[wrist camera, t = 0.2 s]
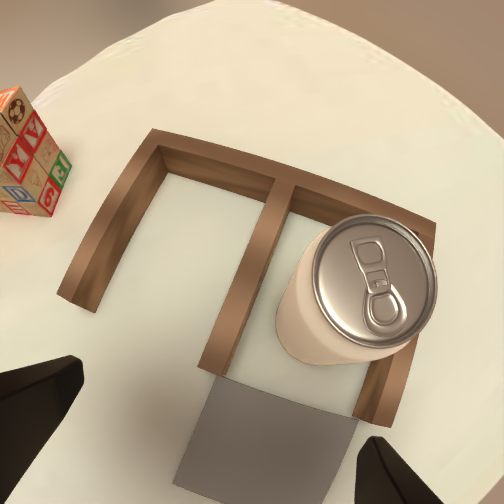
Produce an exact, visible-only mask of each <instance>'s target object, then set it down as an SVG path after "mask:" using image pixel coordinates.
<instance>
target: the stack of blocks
mask: <svg viewBox="0 0 504 504" xmlns="http://www.w3.org/2000/svg"><path fill="white" fill-rule="evenodd" d="M71 167H72V165H71V164H70V163H69V161H68V159H67V158H66V156H65V155H64V154H63V152H62V151H61V150H60V149H59V147H58V146H57V144H56V143H55V141H54V140H53V138H52V137H51V135H50V134H49V132H48V131H47V128H46V126H45V125H44V123H43V122H42V121H41V119H40V117H39V116H38V114H37V112H36V111H35V110H34V109H33V107H32V105H31V104H30V102H29V100H28V98H27V97H26V95H25V93H24V92H23V90H22V88H21V87H20V86H17V87H14V88H10V89H7V90H4V91H0V212H9V213H15V214H24V215H33V216H43V217H52V215H53V212H54V209H55V207H56V204H57V202H58V199H59V196H60V194H61V191H62V188H63V186H64V183H65V181H66V179H67V176H68V174H69V172H70V169H71Z"/></svg>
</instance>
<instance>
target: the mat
mask: <svg viewBox="0 0 504 504" xmlns="http://www.w3.org/2000/svg"><path fill="white" fill-rule="evenodd" d="M358 421H359V420H356V419H352V418H348V417H344V416H341V415H337V414H333V413H329V412H326V411H322V410H319V409H315V408H312V407H309V406H305V405H302V404H299V403H296V402H292V401H289V400H286V399H283V398H280V397H277V396H274V395H271V394H268V393H265V392H263V391H260V390H257V389H254V388H251V387H249V386H246V385H243V384H241V383H238V382H235V381H233V380H230V379H228V378H225V377H222V376H218V375H217V377H216V380H215V382H214V384H213V387H212V389H211V392H210V394H209V397H208V399H207V401H206V404H205V406H204V409H203V411H202V414H201V416H200V418H199V421H198V423H197V426H196V428H195V431H194V433H193V435H192V438H191V440H190V442H189V445H188V447H187V450H186V452H185V454H184V457H183V459H182V462H181V464H180V466H179V469H178V471H177V473H176V476H175V478H174V480H173V484H175V485H177V486H180V487H182V488H184V489H187V490H189V491H192V492H194V493H197V494H199V495H202V496H205V497H208V498H210V499H213V500H216V501H219V502H222V503H225V504H322V502H323V500H324V498H325V496H326V494H327V492H328V490H329V488H330V486H331V484H332V482H333V480H334V478H335V475H336V473H337V471H338V469H339V467H340V465H341V462H342V460H343V458H344V455H345V453H346V451H347V448H348V446H349V444H350V441H351V439H352V436H353V434H354V431H355V429H356V426H357V424H358Z"/></svg>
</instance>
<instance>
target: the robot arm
mask: <svg viewBox="0 0 504 504" xmlns="http://www.w3.org/2000/svg"><path fill="white" fill-rule="evenodd" d="M83 384H84V372H83V363H82V361H81V360H80V359H79V358H77V357H75V356H72V355H68V356H65V357H61V358H57V359H53V360H50V361H46V362H42V363H38V364H34V365H30V366H27V367H23V368H19V369H15V370H10V371H6V372H2V373H0V504H4V503H5V502H6V500H7V498H8V497H9V495H10V494H11V492H12V491H13V489H14V488H15V487H16V485H17V484H18V482H19V481H20V479H21V478H22V476H23V475H24V473H25V472H26V470H27V469H28V468H29V466H30V465H31V463H32V462H33V460H34V459H35V458H36V456H37V455H38V453H39V452H40V451H41V449H42V448H43V446H44V445H45V444H46V442H47V441H48V439H49V438H50V437H51V435H52V434H53V433H54V431H55V430H56V429H57V427H58V426H59V424H60V423H61V422H62V420H63V419H64V417H65V416H66V414H67V412H68V410H69V409H70V407H71V405H72V403H73V402H74V400H75V398H76V396H77V395H78V393H79V391H80V390H81V388H82V386H83ZM354 502H355V504H444V503H443V502H442V501H441V500H440V499H439V498H438V497H437V496H436V495H435V494H434V493H433V491H432V490H431V489H430V488H429V487H428V486H427V485H426V484H425V483H424V482H423V481H422V480H421V478H420V477H419V476H418V475H417V474H416V473H415V472H414V471H413V470H412V469H411V467H410V466H409V465H408V464H407V463H406V462H405V461H404V460H403V459H402V458H401V456H400V455H399V454H398V453H397V452H396V451H395V450H394V449H393V448H392V446H391V445H390V444H389V443H388V442H387V441H386V440H385V439H384V438H383V437H378V436H371V437H369V438H368V439H367V441H366V442H365V444H364V445H363V447H362V448H361V450H360V451H359V453H358V456H357V467H356V483H355V498H354Z"/></svg>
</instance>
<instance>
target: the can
mask: <svg viewBox="0 0 504 504" xmlns="http://www.w3.org/2000/svg"><path fill="white" fill-rule="evenodd" d="M436 299H437V275H436V270H435V266H434V263H433V260H432V258H431V256H430V254H429V252H428V250H427V248H426V247H425V245H424V244H423V242H422V241H421V240H420V238H419V237H418V236H417V235H416V234H415V233H414V232H413V231H412V230H411V229H409V228H408V227H407V226H405V225H404V224H402V223H401V222H399V221H397V220H395V219H393V218H390V217H387V216H384V215H379V214H358V215H354V216H350V217H348V218H345V219H343V220H341V221H340V222H338V223H336V224H335V225H334V226H332V227H330V228H328V229H326V230H325V231H323V232H322V233H321V234H319V235H318V236H317V237H316V238H315V239H314V240H313V241H312V242H311V243H310V245H309V246H308V247H307V248H306V250H305V251H304V253H303V255H302V257H301V259H300V260H299V262H298V265H297V267H296V269H295V271H294V273H293V275H292V277H291V280H290V282H289V284H288V286H287V288H286V290H285V293H284V295H283V297H282V299H281V302H280V304H279V307H278V310H277V314H276V330H277V334H278V337H279V339H280V342H281V343H282V345H283V347H284V348H285V349H286V350H287V352H288V353H289V354H291V355H292V356H293V357H295V358H296V359H298V360H300V361H302V362H304V363H308V364H312V365H336V364H349V363H359V362H368V361H373V360H378V359H382V358H385V357H387V356H390V355H392V354H394V353H396V352H397V351H399V350H400V349H402V348H403V347H404V346H405V345H407V344H408V343H409V342H410V341H411V339H413V338H414V337H415V336H416V335H417V334H419V333H420V332H421V330H422V329H423V328H424V327H425V325H426V324H427V323H428V321H429V319H430V317H431V315H432V313H433V310H434V307H435V304H436Z"/></svg>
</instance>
